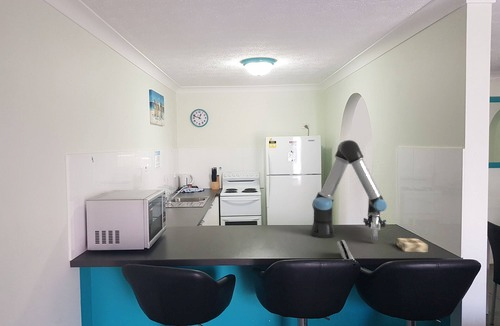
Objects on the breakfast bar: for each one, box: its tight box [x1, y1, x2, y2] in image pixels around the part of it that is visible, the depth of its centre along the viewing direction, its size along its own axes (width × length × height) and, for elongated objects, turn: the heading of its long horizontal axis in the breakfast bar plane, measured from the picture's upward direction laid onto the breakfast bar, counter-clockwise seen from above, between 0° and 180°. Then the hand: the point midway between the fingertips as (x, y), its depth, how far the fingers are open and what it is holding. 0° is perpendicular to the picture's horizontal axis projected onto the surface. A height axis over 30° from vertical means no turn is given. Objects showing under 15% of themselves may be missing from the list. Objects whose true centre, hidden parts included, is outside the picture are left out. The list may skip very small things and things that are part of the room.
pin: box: [371, 213, 381, 241], centre depth 191 cm, size 5×5×15 cm
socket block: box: [396, 237, 429, 253], centre depth 182 cm, size 12×12×4 cm
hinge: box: [336, 239, 355, 260], centre depth 164 cm, size 17×5×10 cm, turn 173°
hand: (375, 227), depth 186 cm, fingers closed on pin, 3 cm apart
